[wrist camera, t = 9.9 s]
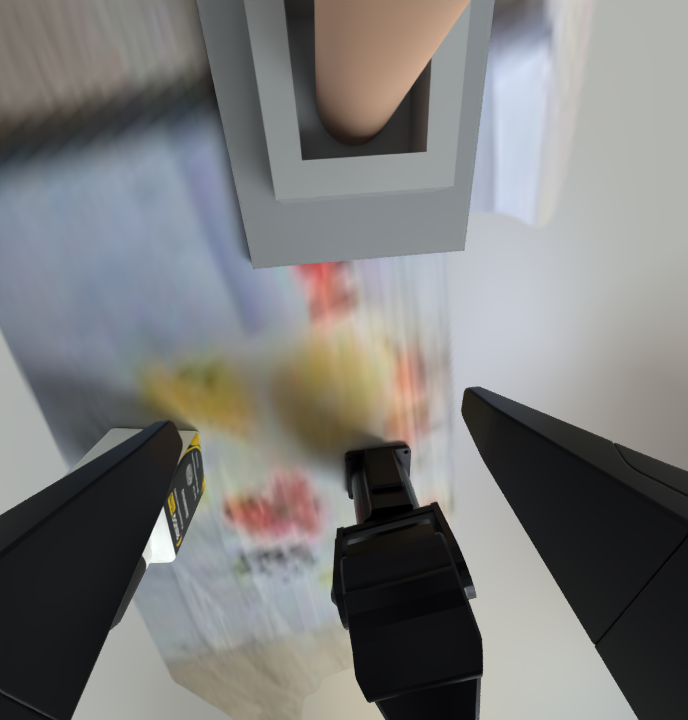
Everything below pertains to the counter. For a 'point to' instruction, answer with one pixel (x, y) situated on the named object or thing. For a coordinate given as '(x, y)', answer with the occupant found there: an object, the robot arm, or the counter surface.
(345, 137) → the dowel
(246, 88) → the socket
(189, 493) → the medicine bottle
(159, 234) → the counter surface
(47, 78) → the counter surface
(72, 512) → the robot arm
